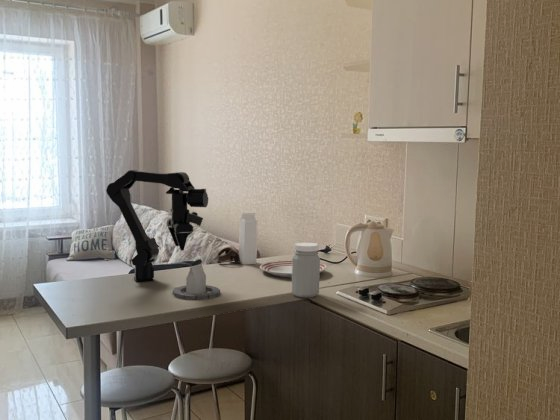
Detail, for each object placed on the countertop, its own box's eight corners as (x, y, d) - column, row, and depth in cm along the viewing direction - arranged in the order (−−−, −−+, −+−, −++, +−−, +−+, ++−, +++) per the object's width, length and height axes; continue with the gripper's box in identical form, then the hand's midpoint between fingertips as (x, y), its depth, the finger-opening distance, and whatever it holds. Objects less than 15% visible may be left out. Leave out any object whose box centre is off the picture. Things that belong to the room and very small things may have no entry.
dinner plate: (249, 277, 237) (249, 268, 237) (272, 264, 263) (272, 257, 263) (316, 283, 229) (317, 275, 228) (333, 270, 254) (333, 262, 254)
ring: (178, 301, 198) (178, 297, 198) (168, 289, 213) (168, 286, 213) (225, 297, 204) (225, 294, 204) (212, 286, 219) (212, 283, 219)
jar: (285, 294, 210) (286, 243, 208) (303, 289, 218) (305, 240, 216) (306, 299, 204) (308, 247, 202) (324, 294, 211) (326, 244, 209)
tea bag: (205, 292, 211) (205, 264, 210) (195, 296, 205) (195, 267, 204) (196, 291, 212) (196, 263, 211) (186, 295, 206) (186, 266, 205)
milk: (256, 263, 262) (257, 214, 260) (243, 264, 260) (245, 214, 257) (250, 261, 268) (252, 212, 265) (238, 262, 265) (239, 212, 262)
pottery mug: (243, 266, 258) (235, 251, 255) (223, 275, 258) (214, 260, 255) (241, 254, 269) (233, 239, 266) (222, 263, 270) (214, 248, 266)
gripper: (207, 208, 215) (207, 251, 217) (195, 203, 232) (195, 243, 234) (176, 209, 211) (176, 253, 213) (166, 204, 228) (166, 244, 230)
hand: (179, 248), depth 223 cm, fingers open, 9 cm apart
